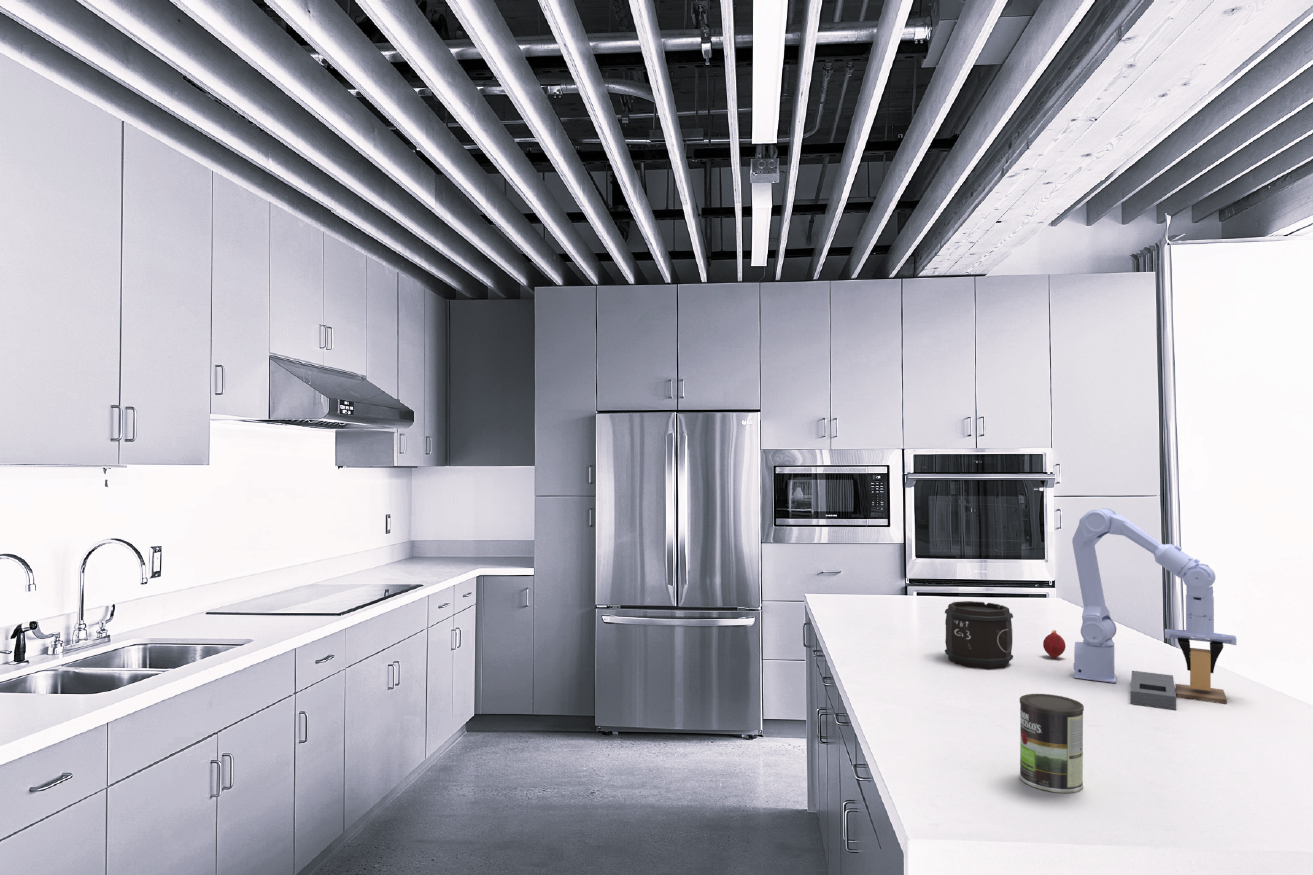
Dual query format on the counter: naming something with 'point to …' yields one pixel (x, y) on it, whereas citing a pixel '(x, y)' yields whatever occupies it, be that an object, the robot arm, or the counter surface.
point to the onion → (1054, 644)
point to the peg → (1200, 669)
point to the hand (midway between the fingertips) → (1200, 670)
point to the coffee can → (1051, 743)
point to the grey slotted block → (1153, 690)
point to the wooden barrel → (978, 634)
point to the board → (1200, 694)
